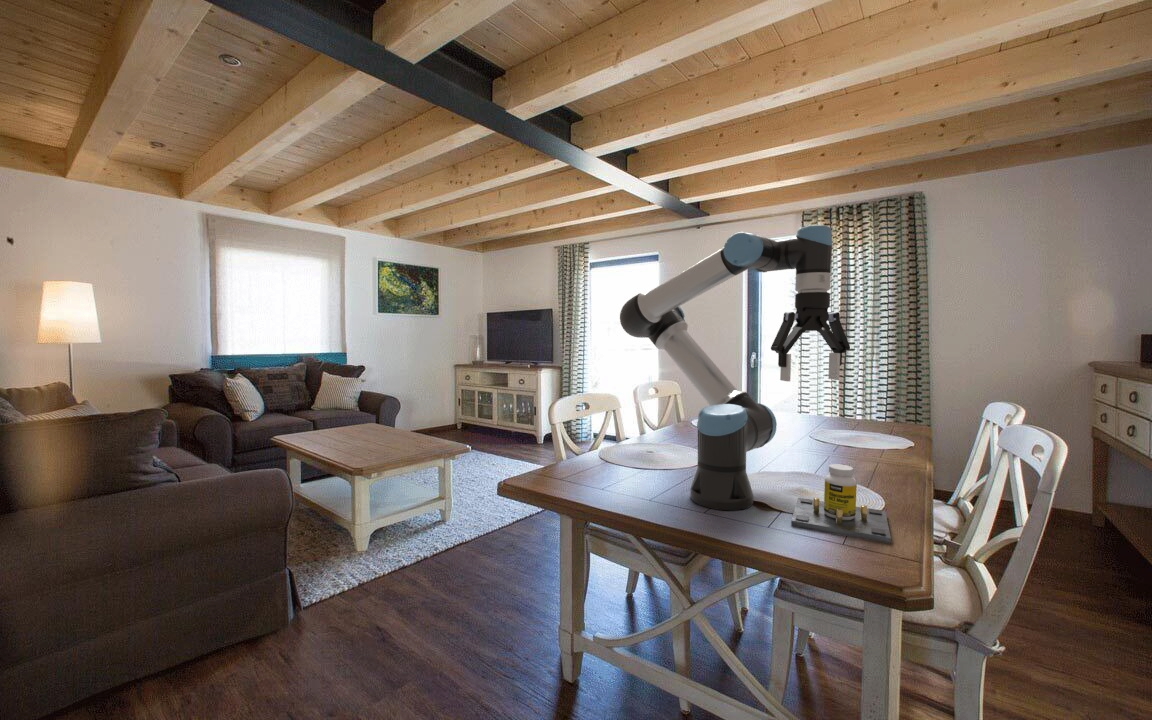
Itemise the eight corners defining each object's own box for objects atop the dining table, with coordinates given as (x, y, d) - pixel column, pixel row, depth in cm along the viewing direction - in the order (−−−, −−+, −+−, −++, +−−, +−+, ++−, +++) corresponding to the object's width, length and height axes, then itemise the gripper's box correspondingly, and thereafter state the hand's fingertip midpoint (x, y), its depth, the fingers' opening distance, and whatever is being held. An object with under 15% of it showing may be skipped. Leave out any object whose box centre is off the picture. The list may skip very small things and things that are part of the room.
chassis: (791, 525, 102) (791, 506, 102) (797, 502, 116) (798, 485, 116) (890, 543, 93) (891, 523, 93) (884, 516, 107) (885, 498, 107)
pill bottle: (825, 518, 103) (826, 469, 102) (822, 508, 109) (823, 461, 108) (858, 522, 101) (859, 472, 100) (852, 512, 106) (854, 464, 106)
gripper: (776, 290, 107) (774, 383, 108) (869, 291, 112) (865, 380, 113) (756, 292, 114) (754, 379, 115) (844, 294, 119) (841, 377, 121)
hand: (809, 380), depth 114 cm, fingers open, 13 cm apart
